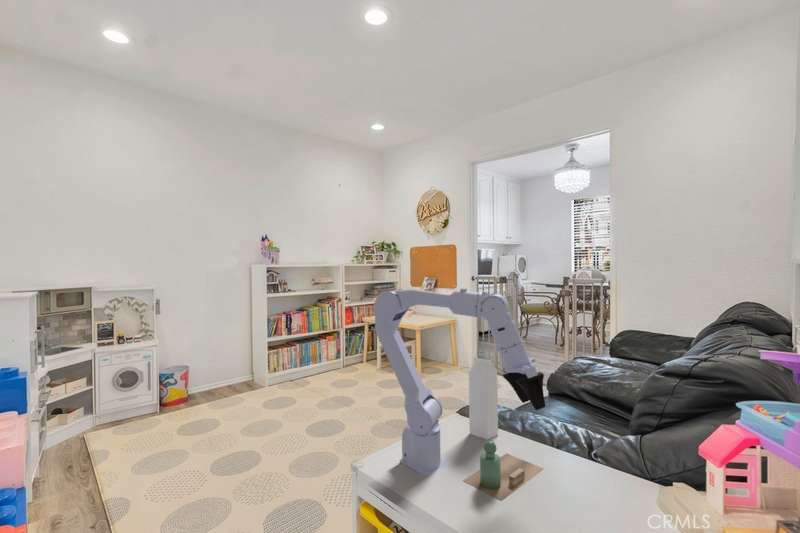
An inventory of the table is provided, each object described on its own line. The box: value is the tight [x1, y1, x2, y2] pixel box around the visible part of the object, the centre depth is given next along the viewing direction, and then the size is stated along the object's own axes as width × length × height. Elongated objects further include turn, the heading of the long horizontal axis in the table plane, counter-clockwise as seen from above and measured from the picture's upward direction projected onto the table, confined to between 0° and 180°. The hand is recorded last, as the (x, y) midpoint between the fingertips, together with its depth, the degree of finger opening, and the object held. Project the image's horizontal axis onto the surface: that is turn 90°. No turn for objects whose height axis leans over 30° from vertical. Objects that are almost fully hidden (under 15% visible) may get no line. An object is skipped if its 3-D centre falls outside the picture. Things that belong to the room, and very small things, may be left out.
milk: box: [468, 357, 499, 441], centre depth 108 cm, size 6×6×22 cm
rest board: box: [462, 453, 545, 502], centre depth 87 cm, size 10×18×2 cm, turn 132°
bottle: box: [479, 440, 501, 490], centre depth 83 cm, size 4×4×9 cm
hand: (533, 404), depth 83 cm, fingers open, 7 cm apart
